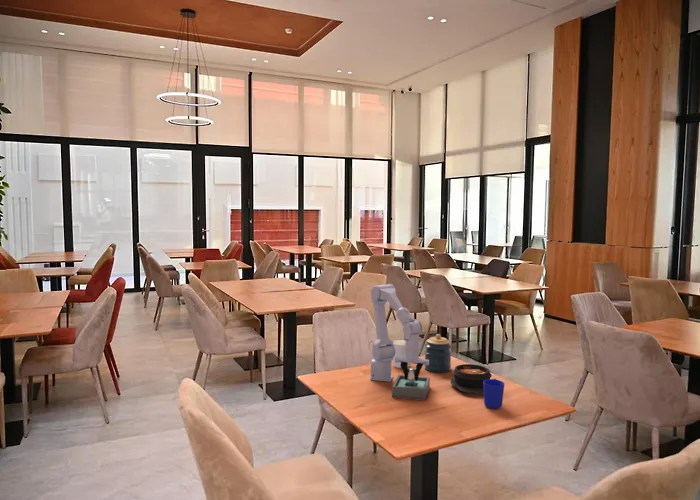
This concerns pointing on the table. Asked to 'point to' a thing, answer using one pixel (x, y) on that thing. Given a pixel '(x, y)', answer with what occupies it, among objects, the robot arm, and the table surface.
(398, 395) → the tray
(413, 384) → the peg
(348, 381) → the table surface
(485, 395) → the mug
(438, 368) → the canister
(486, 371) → the casserole
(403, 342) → the candle holder
